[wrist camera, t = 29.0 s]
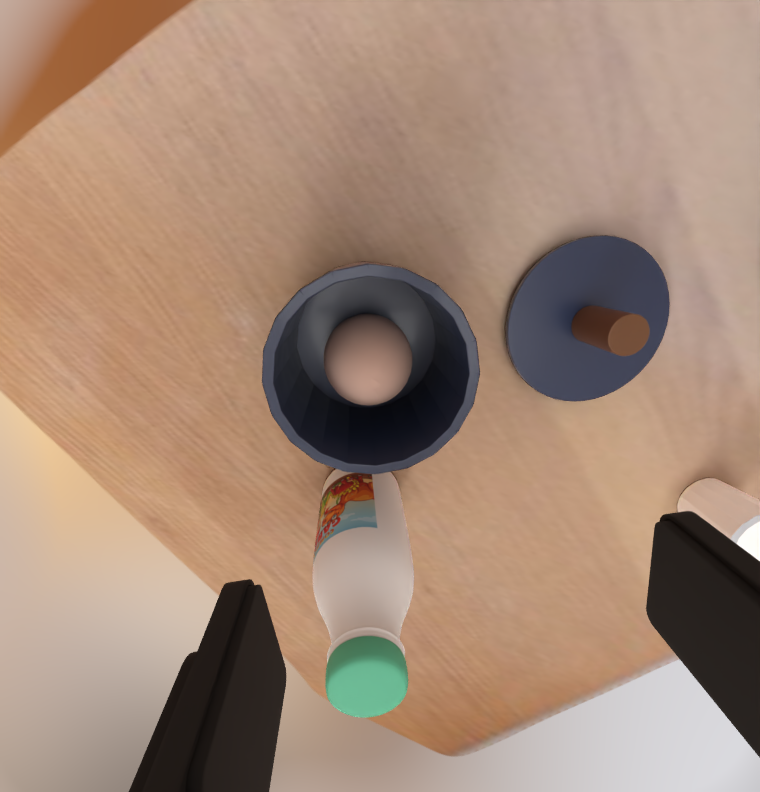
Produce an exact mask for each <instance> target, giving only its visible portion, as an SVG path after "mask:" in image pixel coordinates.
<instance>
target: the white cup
mask: <svg viewBox="0 0 760 792" xmlns="http://www.w3.org/2000/svg"><path fill="white" fill-rule="evenodd" d="M677 508H678V512H683V511H692V512H694V513H696V514H697V515H699V516H700V517H701V518H703V519H704V520H705V521H707V522H708V523H709V524H711V525H712V526H713V527H715V528H716V529H717V530H719V531H720V532H721V533H723V534H724V535H725V536H727V537H728V538H729V539H731V540H732V541H733V542H735V543H736V544H737V545H739V546H740V547H741V548H743V549H744V550H745V551H747V552H748V553H749V554H751V555H752V556H753V557H755V558H756V559H757V560H759V561H760V500H759V499H757V498H755V497H753V496H751V495H749V494H746V493H744V492H742V491H740V490H738V489H736V488H734V487H732V486H730V485H728V484H726V483H724V482H722V481H720V480H718V479H716V478H705V479H702V480H699V481H696V482H694V483H693V484H691V485H690V486H688V487H687V488H686V489H685V490H684V492H683V493H682V494H681V495H680V498H679V501H678V504H677Z"/></svg>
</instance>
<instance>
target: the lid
mask: <svg viewBox="0 0 760 792" xmlns="http://www.w3.org/2000/svg"><path fill="white" fill-rule="evenodd" d="M669 304H670V303H669V292H668V287H667V282H666V280H665V277H664V274H663V272H662V270H661V268H660V267H659V265H658V263H657V262H656V261H655V260H654V258H653V257H652V256H651V255H650V254H649V253H648V252H647V251H646V250H644V249H643V248H642V247H640V246H639V245H637V244H635V243H633V242H631V241H629V240H626V239H623V238H619V237H614V236H590V237H585V238H579V239H576V240H573V241H570V242H568V243H565V244H563V245H561V246H559V247H557V248H556V249H554V250H553V251H551V252H549V253H548V254H547V255H545V256H544V257H543V258H542V259H540V260H539V261H538V262H537V263H536V264H535V265H534V266H533V267H532V268H531V269H530V270H529V272H528V273H527V274H526V276H525V277H524V278H523V280H522V281H521V283H520V285H519V286H518V288H517V290H516V292H515V294H514V296H513V299H512V301H511V304H510V307H509V310H508V315H507V321H506V344H507V348H508V353H509V356H510V359H511V361H512V363H513V365H514V367H515V369H516V371H517V372H518V373H519V375H520V376H521V377H522V379H523V380H524V381H525V382H526V383H527V384H529V385H530V386H531V387H533V388H534V389H535V390H537V391H538V392H540V393H542V394H544V395H546V396H548V397H551V398H554V399H558V400H563V401H585V400H590V399H595V398H598V397H601V396H605V395H607V394H609V393H611V392H614V391H615V390H617V389H619V388H620V387H622V386H624V385H625V384H626V383H628V382H629V381H631V380H632V379H633V378H634V377H635V376H636V375H637V374H639V373H640V372H641V370H642V369H643V368H644V367H645V366H646V365H647V364H648V362H649V361H650V360H651V358H652V357H653V355H654V354H655V352H656V350H657V348H658V347H659V345H660V343H661V340H662V338H663V336H664V333H665V329H666V326H667V322H668V316H669Z"/></svg>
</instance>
